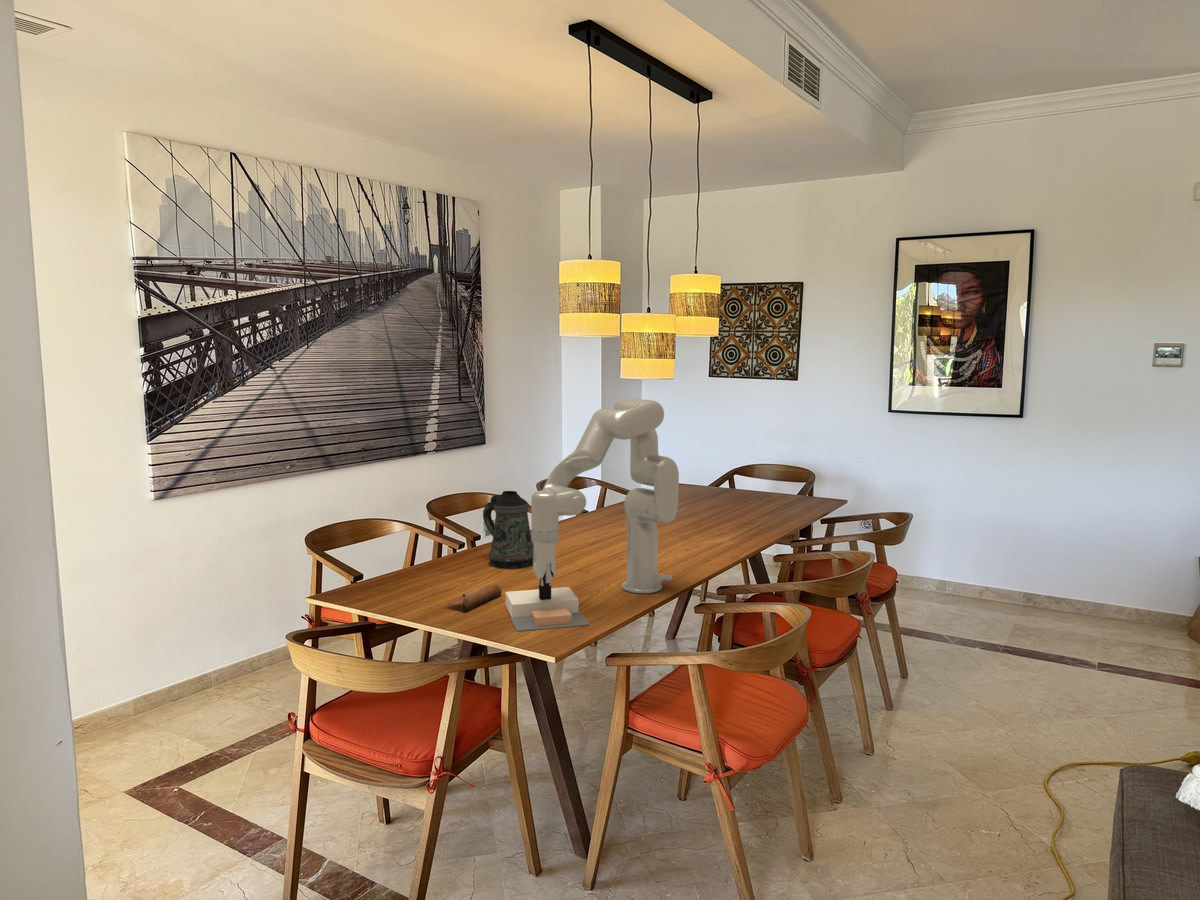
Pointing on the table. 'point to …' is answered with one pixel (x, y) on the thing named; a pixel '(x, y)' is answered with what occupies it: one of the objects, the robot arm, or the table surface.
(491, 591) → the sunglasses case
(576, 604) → the block
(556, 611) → the tile
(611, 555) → the table surface
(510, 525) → the beer stein
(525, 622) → the mat
